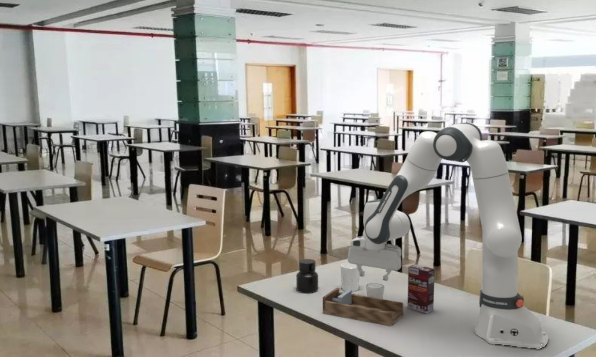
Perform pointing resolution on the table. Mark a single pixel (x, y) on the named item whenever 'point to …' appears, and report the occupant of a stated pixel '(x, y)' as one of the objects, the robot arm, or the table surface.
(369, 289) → the white short cylinder
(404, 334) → the table surface
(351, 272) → the white cup
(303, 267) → the ink bottle
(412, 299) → the supplement box
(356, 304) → the wooden tray
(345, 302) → the pusher
